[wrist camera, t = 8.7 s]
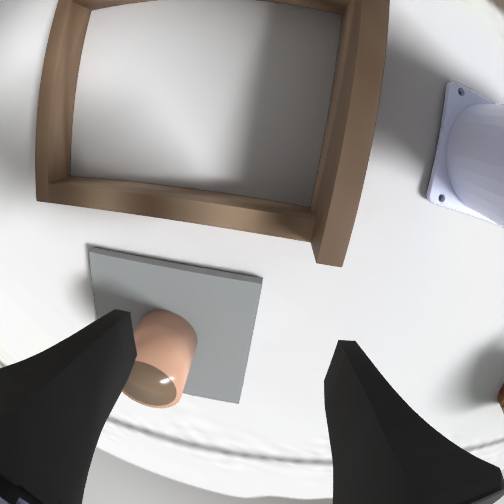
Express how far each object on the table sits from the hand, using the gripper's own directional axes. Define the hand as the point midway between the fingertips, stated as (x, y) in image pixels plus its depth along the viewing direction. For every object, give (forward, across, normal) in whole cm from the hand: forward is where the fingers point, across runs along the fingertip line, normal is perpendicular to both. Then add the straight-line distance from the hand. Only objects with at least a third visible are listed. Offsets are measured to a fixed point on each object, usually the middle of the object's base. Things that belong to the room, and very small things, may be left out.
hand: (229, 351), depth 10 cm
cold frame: (+9, +5, -9) cm, 14 cm away
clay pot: (+9, +5, +7) cm, 13 cm away
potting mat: (+9, +5, +8) cm, 13 cm away
